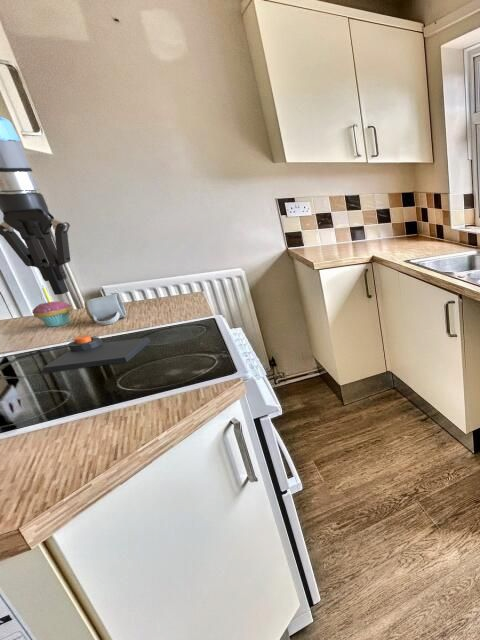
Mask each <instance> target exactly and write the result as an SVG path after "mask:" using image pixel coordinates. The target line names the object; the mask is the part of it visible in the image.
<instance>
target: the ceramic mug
mask: <svg viewBox="0 0 480 640" xmlns="http://www.w3.org/2000/svg"><path fill="white" fill-rule="evenodd" d="M84 309H85V311H86V314H87V316H88V318H89V319H90V320H91V321H93V322H95V324H97V325H100V326H107V325H108V324H109V325H112V324H114V323H116V322H117V321H118V320H119V319H124V318H126V317H127V311H126V308H125V306H124V303H123V301H122V299H121V297H120V295H118V294H117V293H113V294H108V295H104V296H99V297H94V298H90V299H87V300H85V301H84ZM109 325H108V326H109Z"/></svg>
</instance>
